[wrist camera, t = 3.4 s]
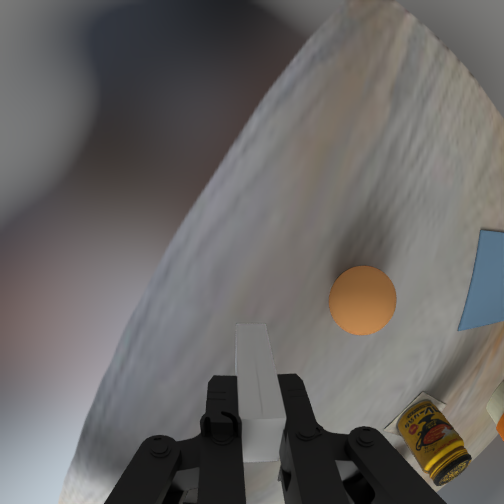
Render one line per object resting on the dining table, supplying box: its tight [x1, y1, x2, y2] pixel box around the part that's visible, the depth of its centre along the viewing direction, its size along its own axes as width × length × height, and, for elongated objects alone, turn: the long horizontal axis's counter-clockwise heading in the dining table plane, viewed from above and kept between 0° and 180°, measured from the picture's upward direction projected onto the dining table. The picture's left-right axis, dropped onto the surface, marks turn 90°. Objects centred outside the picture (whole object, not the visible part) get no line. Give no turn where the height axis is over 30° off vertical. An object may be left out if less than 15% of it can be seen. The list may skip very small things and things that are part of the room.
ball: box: [329, 266, 396, 335], centre depth 22 cm, size 6×6×6 cm
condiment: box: [384, 392, 472, 486], centre depth 25 cm, size 7×8×12 cm
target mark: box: [458, 230, 504, 331], centre depth 26 cm, size 12×12×1 cm
